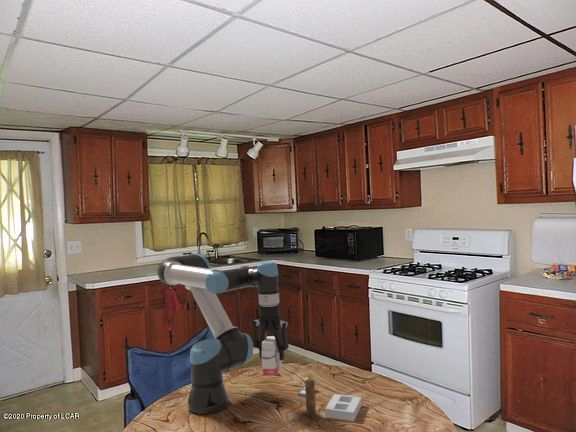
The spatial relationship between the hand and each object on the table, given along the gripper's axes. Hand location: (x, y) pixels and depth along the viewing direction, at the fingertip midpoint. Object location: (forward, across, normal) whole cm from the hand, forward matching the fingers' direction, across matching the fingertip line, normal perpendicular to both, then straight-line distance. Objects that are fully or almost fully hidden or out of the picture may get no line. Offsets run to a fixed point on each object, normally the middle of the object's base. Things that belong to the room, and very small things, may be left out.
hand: (272, 367), depth 151 cm
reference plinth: (+15, +7, +16) cm, 22 cm away
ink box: (+2, 0, 0) cm, 2 cm away
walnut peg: (+15, +15, -2) cm, 21 cm away
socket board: (+14, +25, +4) cm, 29 cm away
